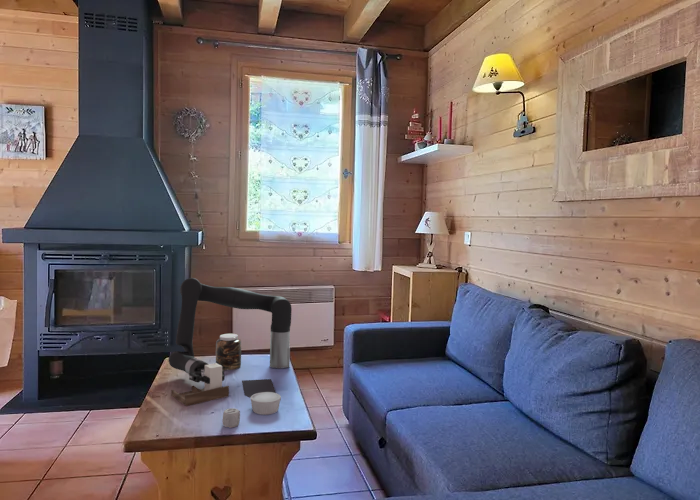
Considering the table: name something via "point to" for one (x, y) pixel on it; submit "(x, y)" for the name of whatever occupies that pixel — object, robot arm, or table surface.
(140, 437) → the table surface
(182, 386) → the table surface
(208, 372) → the cream block
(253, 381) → the notebook
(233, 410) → the die
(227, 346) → the jar
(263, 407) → the ramekin
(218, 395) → the lane rack
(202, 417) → the table surface
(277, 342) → the robot arm
